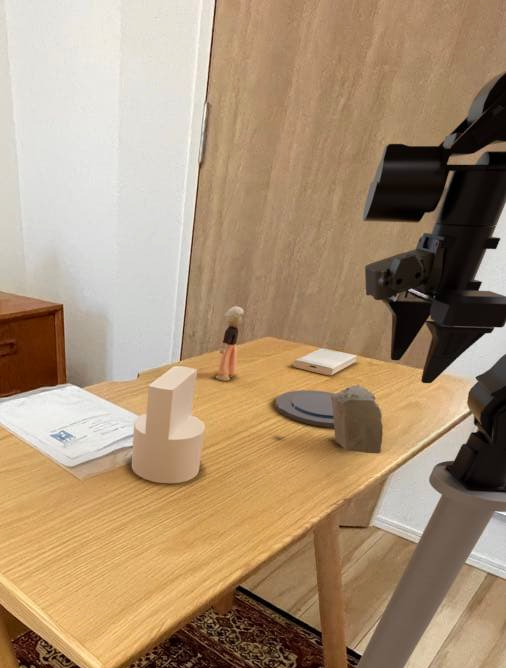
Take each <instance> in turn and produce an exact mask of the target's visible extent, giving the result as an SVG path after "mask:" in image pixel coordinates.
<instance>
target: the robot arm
mask: <svg viewBox="0 0 506 668" xmlns="http://www.w3.org/2000/svg"><path fill="white" fill-rule="evenodd" d="M502 143H506V70H504V71H502V72H500V73H499V74H497V75H495V76H494V77H492V78H491V79H490V80H489V81H487V83H485V84H484V85H483V86H482V87H481V88H480V90H479V91H478V93H477V94H476V95H475V96H474V98H473V100H472V102H471V105H470V107H469V108H468V113H467V115H466V117H465V118H464V119H463V120H462V121H461V122H460V123H459V124H458V125H457V126H456V127H455V128H454V129H453V130H452V131H451V132H450V133H449V134H448V135H445V137H444V140H442V142H441V143H439V144H438V145H407V144H404V143H389V144H387V145H385V146H384V148H383V151H382V155H381V159H380V161H379V163H378V165H377V168H376V171H375V174H374V176H373V177H374V178H373V181H371V182H370V184H369V188H368V192H367V197H366V200H365V204H364V208H363V214H362V221H363V222H377V223H378V222H381V223H382V222H383V223H415V224H418V223H420V222H421V221H422V219H423V218H424V215H425V214H430V213H434V212H435V211H436V209H437V208H438V205H439V204H440V201H441V199H442V202H441V204H440V207H439V209H438V213H437V215H436V219H435V223H434V224H433V227H432V229H431V230H432V231H431V232H423V234H422V235H421V236H420V237H419V239H418V241H417V244H416V247H415V248H414V249H412V250H409V251H405V252H400V253H397V254H394V255H391V256H389V257H385V258H382V259H380V260H377V261H374V262H371V263H368V264H366V265H365V266H364V274H365V275H364V277H365V295H366V296H370V297H373V299H374V300H376V301H381V302H382V303H383V304H384V305H385V306H386V308H387V309H388V310H389V312H390V313H391V341H390V360H392V361H400V360H401V359H402V358H403V356H405V354H406V352H407V351H408V349H409V348H410V347H411V345H412V343H413V342H414V341H415V339H416V337H417V336H418V334H419V333H420V332H421V330H422V329H423V326H424V325H426V327H427V328H428V330H429V332H430V334H431V341H430V344H429V349H428V351H427V355H426V358H425V362H424V366H423V370H422V374H421V379H420V382H421V383H422V384H432V383H433V382H435V380H436V379H437V378H438V377H440V375H441V374H443V373H444V372H445V371H446V370H447V369H448V368H449V367H450V366H451V365H452V364H453V363H454V362H455V361H456V360H457V359H458V358H459V357H460V356H461V355H463V354H464V352H466V351H467V350H468V349H470V347H472V346H473V345H474V344H475V343H477V342H478V341H479V340H480V339H481V338H482V337H484V336H485V335H486V334H492V332H493V331H494V330H495V328H498V329H499V328H504V327H505V325H506V295H503V294H500V293H497V292H493V291H492V290H491V291H490V290H480V289H481V286H482V283H483V281H481V280H477V279H475V278H476V277H477V274H478V272H479V269H480V267H481V264H482V262H483V259H484V257H485V255H486V253H487V250H497V249H498V246H499V244H500V242H501V239H502V238H501V237H496V236H493V235H494V233H495V230H496V228H497V225H498V223H499V220H500V218H501V216H502V213H503V210H504V209H505V207H506V206H505V205H506V150H499V151H498V150H496V151H493V150H489V151H484V152H483V153H482V154H481V155H480V157H478V159H477V161H476V163H475V164H448V163H449V161H450V158H455V157H461V156H467V155H473V154H475V153H477V152H479V151H481V150H483V149H484V148H485V147H487V146H492V145H497V144H502ZM450 172H452V173H451V176H450V179H449V182H448V177H449V174H450ZM447 182H448V185H447ZM446 185H447V187H446ZM445 188H446V190H445ZM444 191H445V192H444ZM444 193H445V194H444ZM443 194H444V196H443ZM442 196H443V198H442ZM429 318H430V320H428V319H429ZM475 380H476V381H477V382H476V383H475V384H473V386H472V387H471V388H470V389H469V391H468V393H467V401H466V404H467V408H468V410H469V411H470V412H471V414H472V415H473V425H474V426H475V427H476V428H477V429H478V431H475V432H473V431H472V432H470V434H469V436H468V438H467V440H466V442H465V443H463V444H462V445H461V446H460V448H459V450H458V452H457V453H456V456H455V458H454V460H453V461H454V462H453V464H452V465H447V466H446V468H445V469H446V470H447V471H448V472H449V473H450V474H451V475H452V476H453V477H455V478H456V479H457V480H458V481H459V482H460V483H461V484H462V485H463V486H464V487H465V488H466V489H467V490H470V491H485V492H506V353H505V354H503V355H502V356H501V357H500V358H498V359H497V361H496V362H495V363H494V364H493V366H491V367H490V368H489V369H488V370H486V371H485V372H483V373H481V374H479V375H476V376H475Z"/></svg>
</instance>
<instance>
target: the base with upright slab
mask: <svg viewBox="0 0 506 668" xmlns="http://www.w3.org/2000/svg"><path fill="white" fill-rule="evenodd" d="M197 375H198V369H197V368H193V367H187V366H181V365H174V366H173V367H171V368H170V369H168V370H167V371H166V372H165V373H163V374H161V375H160V376H159V377H158V378H156V379H155V380H154V381H153V382H151V383H150V384H149V385H148V386H147V388H148V389H147V402H146V413H143V414H140V415H138V416H137V417H136V418H134V421H133V435H132V454H131V469H132V472H133V473H134V474H136V475H137V476H138V477H140V478H141V479H144V480H147V481H149V482H152V483H153V482H154V483H158V484H181V483H185V482H187V481H190V480H192V479H194V478H195V477H196V476H197V475H198V473H199V471H200V465H201V459H202V451H203V445H204V439H205V430H206V426H205V423H204V422H203V421H202V419H200V418H198V417H197V416H194V415H193V414H192V413H193V406H194V399H195V393H196V391H195V390H196V383H197Z"/></svg>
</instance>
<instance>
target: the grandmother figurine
mask: <svg viewBox="0 0 506 668" xmlns="http://www.w3.org/2000/svg"><path fill="white" fill-rule="evenodd" d="M244 313H245V311H244V309H243V308H242V307H240V306H237V305H235V306H232V307H231V308H229V309H228V310H227V311H226V313H225V314H224V318H225V319H226V320H227V322H226V323H227V325H228V326H227V328H226V330H225V331H224V335H223V340H222V342H221V346H220V350H219V353H220V354H221V357H220V362H219V366H218V370H217V373H218V374H217V375H216V376H215V379H217V380H220V381H224V382H228V381H230V380H231V378H232V377H234V375H235V374H237V366H238V357H237V356H238V355H237V354H238V352H237V341H238V335H239V328H238V327H240V325H241V324H242V320H243V318H242V317H243V316H244Z"/></svg>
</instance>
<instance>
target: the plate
mask: <svg viewBox="0 0 506 668" xmlns="http://www.w3.org/2000/svg"><path fill="white" fill-rule="evenodd" d="M333 394H336V393H334V392H329V391H324V390H312V389H311V390H309V389H308V390H307V389H302V390H301V389H300V390H291V391H286V392H283V393H282V394H279V395H278V396H277V397H276V399H275V403H274V407H275V409H276V410H277V412H278V413H279V414H281V415H283V416H284V417H286V418H288V419H290V420H293V421H296V422H298V423H301V424H305V425H309V426H314V427H319V428H327V429H334V417H333V407H332V400H331V395H333Z"/></svg>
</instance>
